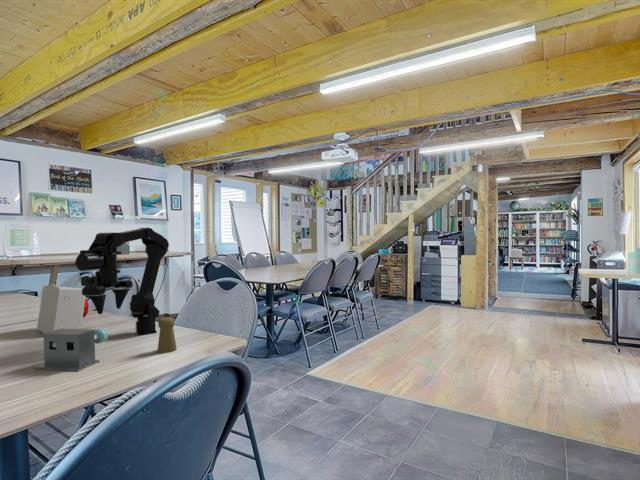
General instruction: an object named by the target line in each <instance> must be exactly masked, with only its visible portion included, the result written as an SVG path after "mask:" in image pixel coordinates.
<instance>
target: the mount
mask: <svg viewBox="0 0 640 480" xmlns="http://www.w3.org/2000/svg"><path fill="white" fill-rule="evenodd" d="M94 330H95V329H92V328H91V329H87V328H86V329H85V328H79V329H58V330H54V331H51V332H47V333H43V361H44V362H43V363H40V364H39V365H36V366H33V369H34V370H44V371H45V370H47V371H50V370H51V371H66V372H80V371H82V370H83V371H84V369H87V368H89V367H91V366H94V365H95V364H98V363H100V359H96V347H95V346H96V345H95V344H96V343H95V336H94ZM53 342H56V347H55V348H54V347H53V346H52V343H53Z"/></svg>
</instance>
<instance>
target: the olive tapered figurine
mask: <svg viewBox="0 0 640 480" xmlns="http://www.w3.org/2000/svg"><path fill="white" fill-rule="evenodd" d="M157 324H158V328H159V334H158V335H159V336H158V342H157V353H159V354H167V353H168V354H169V353H172V352H176V351H177V344H176V337H175V331H174V330H175V329H174V326H175V324H176V322H175V319H174V317H172V316H171V317H170V316H167V317H161V318H160V319H158V323H157Z"/></svg>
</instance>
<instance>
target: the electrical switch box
mask: <svg viewBox="0 0 640 480" xmlns="http://www.w3.org/2000/svg"><path fill="white" fill-rule="evenodd" d="M82 289H83V288H79V287H72V286H71V287H70V286H57V285H56V284H53V283H51V284H48V285H46V284H45V285H43V286H42V293H41V299H40V305H39V312H38V319H37V320H38V321H37V326H36V329H37V330H38V331H40V332H41V334H42V333H43V334H44V333H47V332H51V331H54V330H58V329H80V327H81V325H82V324H83V319H85V317H86V316H88V314H89V308H90V307H89V302H88V299H86V297H85V296H86V295H82Z"/></svg>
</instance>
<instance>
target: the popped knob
mask: <svg viewBox="0 0 640 480" xmlns="http://www.w3.org/2000/svg"><path fill="white" fill-rule="evenodd" d="M93 330H94V336H95V344H100V343H103V342H105V341H107V339H108V332H107V330H106V329H104V328H101V327H100V328H98V329H93Z"/></svg>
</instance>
